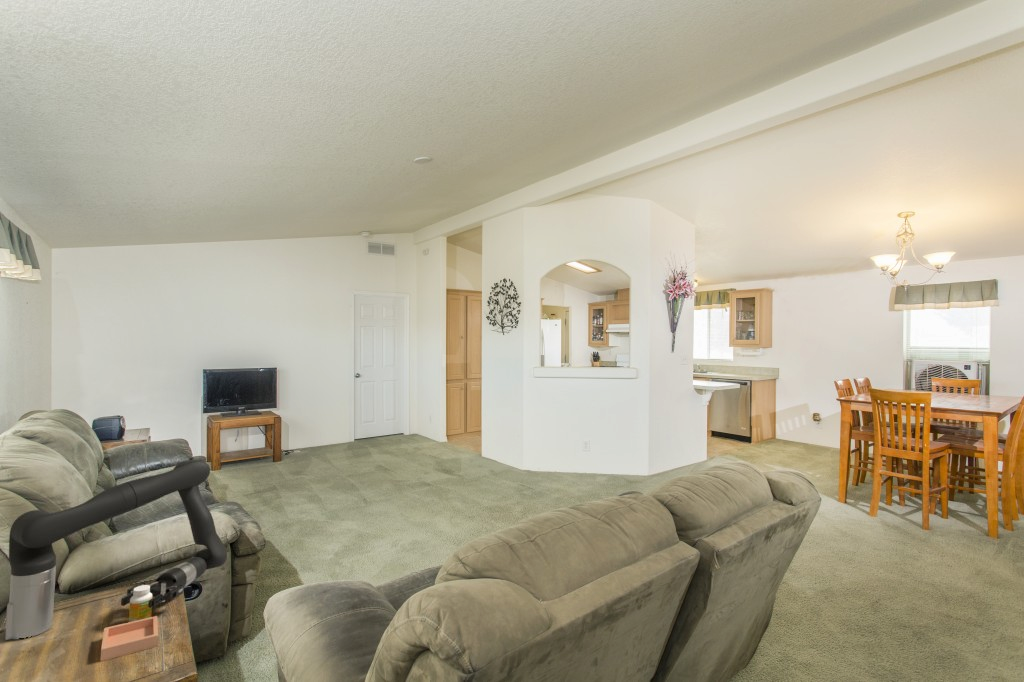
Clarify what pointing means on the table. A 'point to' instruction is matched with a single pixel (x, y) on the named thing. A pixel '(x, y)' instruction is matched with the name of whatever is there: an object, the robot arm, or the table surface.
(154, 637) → the tray
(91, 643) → the table surface
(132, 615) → the supplement bottle
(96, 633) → the table surface
